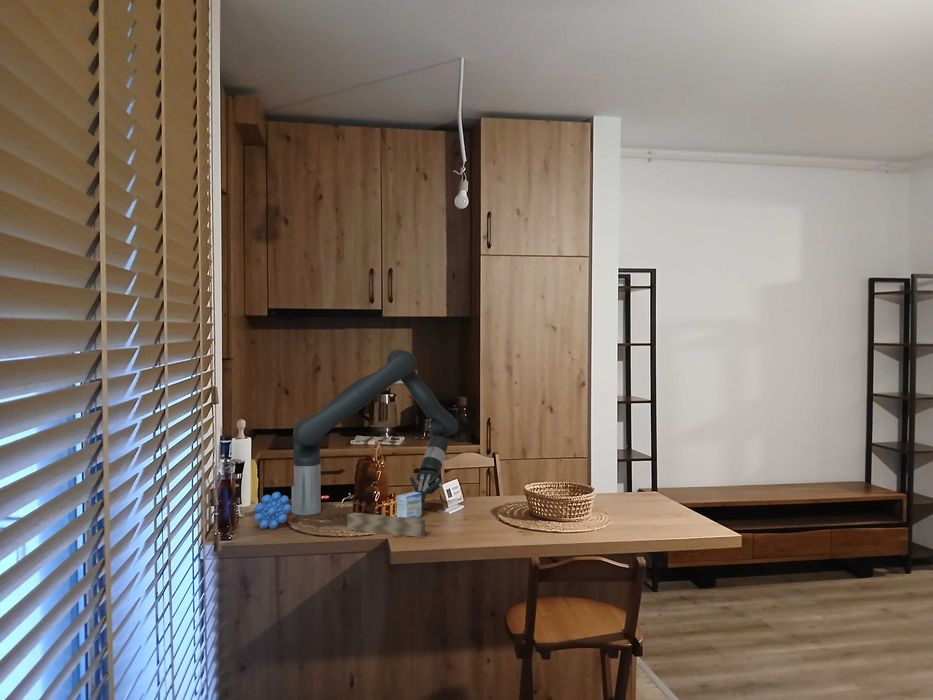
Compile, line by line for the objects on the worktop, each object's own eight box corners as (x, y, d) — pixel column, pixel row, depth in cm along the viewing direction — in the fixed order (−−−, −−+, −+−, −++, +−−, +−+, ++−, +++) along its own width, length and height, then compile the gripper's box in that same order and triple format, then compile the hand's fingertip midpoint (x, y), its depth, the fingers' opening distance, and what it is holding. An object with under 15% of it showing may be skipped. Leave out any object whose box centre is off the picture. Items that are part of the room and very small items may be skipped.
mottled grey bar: (347, 530, 210) (347, 514, 210) (351, 527, 213) (351, 512, 213) (421, 537, 201) (421, 521, 201) (425, 535, 204) (425, 519, 204)
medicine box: (406, 522, 219) (406, 496, 219) (396, 520, 221) (396, 495, 221) (421, 517, 225) (421, 492, 225) (412, 515, 228) (412, 491, 228)
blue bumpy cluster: (292, 524, 217) (292, 488, 217) (290, 530, 210) (290, 492, 210) (255, 526, 215) (255, 489, 215) (252, 532, 208) (252, 494, 208)
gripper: (413, 455, 242) (398, 495, 231) (446, 456, 238) (433, 497, 226) (419, 466, 247) (405, 506, 236) (452, 469, 243) (439, 509, 231)
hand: (419, 502), depth 231 cm, fingers closed
